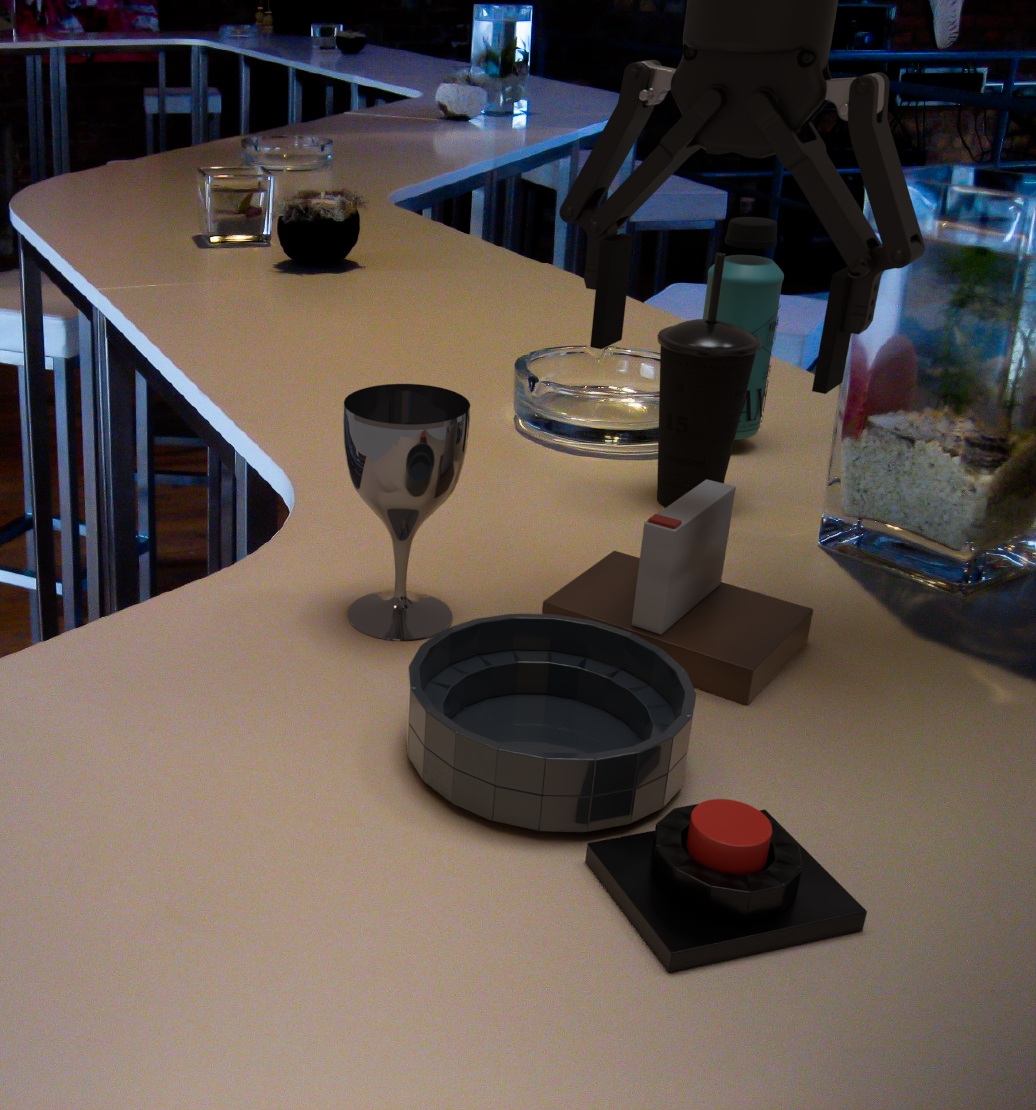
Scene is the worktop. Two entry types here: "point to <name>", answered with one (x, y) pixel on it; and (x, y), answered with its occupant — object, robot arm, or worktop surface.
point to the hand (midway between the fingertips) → (710, 364)
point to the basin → (549, 721)
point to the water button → (729, 836)
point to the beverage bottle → (751, 305)
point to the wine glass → (404, 489)
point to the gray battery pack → (682, 555)
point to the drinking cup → (700, 396)
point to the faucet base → (697, 627)
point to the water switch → (719, 896)
